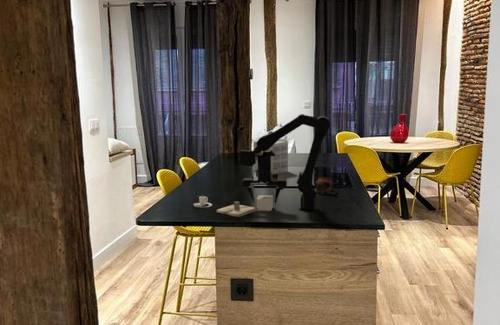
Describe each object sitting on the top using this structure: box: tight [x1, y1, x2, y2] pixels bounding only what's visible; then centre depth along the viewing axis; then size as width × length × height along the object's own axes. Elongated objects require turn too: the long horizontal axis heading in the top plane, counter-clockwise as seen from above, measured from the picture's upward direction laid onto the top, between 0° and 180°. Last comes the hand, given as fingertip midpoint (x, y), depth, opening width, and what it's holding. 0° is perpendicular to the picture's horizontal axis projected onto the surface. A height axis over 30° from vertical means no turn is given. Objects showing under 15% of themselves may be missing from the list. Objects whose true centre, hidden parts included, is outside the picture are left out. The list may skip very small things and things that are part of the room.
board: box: [216, 201, 258, 218], centre depth 194 cm, size 12×12×4 cm
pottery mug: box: [314, 176, 334, 195], centre depth 224 cm, size 12×10×8 cm
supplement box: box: [253, 140, 289, 175], centre depth 278 cm, size 17×13×18 cm
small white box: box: [256, 194, 274, 212], centre depth 197 cm, size 6×6×5 cm
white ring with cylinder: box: [193, 195, 213, 208], centre depth 205 cm, size 9×8×4 cm
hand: (264, 202), depth 197 cm, fingers open, 9 cm apart
